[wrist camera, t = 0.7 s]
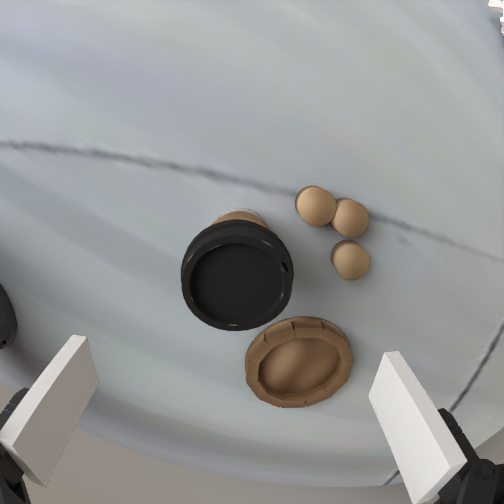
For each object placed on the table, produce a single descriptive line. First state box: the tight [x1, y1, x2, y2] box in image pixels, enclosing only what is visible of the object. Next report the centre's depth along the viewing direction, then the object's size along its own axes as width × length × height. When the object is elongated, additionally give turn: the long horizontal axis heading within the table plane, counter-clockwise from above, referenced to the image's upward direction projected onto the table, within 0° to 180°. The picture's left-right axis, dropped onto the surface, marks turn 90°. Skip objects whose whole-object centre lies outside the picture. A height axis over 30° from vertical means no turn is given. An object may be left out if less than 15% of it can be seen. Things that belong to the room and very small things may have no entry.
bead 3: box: [331, 240, 370, 280], centre depth 35 cm, size 4×4×3 cm
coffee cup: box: [181, 208, 294, 331], centre depth 28 cm, size 8×8×15 cm
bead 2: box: [330, 198, 369, 238], centre depth 33 cm, size 4×4×3 cm
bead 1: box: [295, 186, 336, 226], centre depth 33 cm, size 4×4×3 cm
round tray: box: [245, 317, 354, 408], centre depth 39 cm, size 15×15×2 cm
